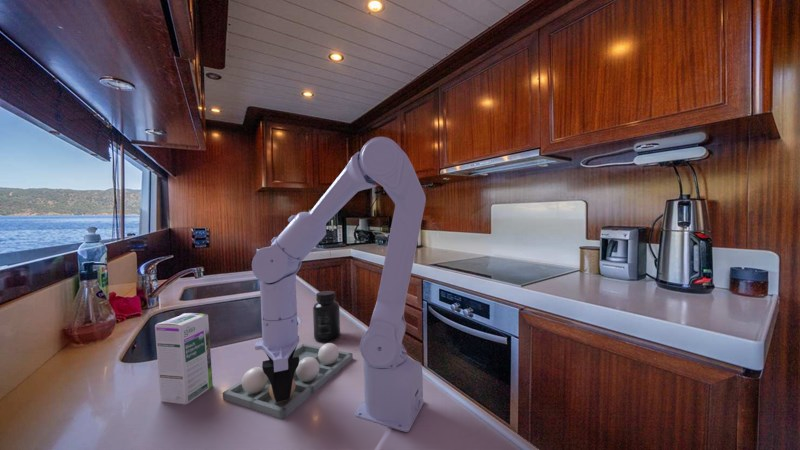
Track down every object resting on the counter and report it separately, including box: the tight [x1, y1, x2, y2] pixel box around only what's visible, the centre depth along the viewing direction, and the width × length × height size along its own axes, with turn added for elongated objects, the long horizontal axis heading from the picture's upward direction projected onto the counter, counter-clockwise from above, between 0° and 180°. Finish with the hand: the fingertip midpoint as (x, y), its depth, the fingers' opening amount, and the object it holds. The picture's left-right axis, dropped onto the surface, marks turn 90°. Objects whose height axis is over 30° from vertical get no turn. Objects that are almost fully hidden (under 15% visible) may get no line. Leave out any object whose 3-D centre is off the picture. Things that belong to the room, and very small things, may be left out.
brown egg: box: [269, 378, 296, 403], centre depth 52 cm, size 4×4×4 cm
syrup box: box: [154, 312, 214, 405], centre depth 54 cm, size 6×6×14 cm
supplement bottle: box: [312, 290, 341, 343], centre depth 78 cm, size 7×7×12 cm
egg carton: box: [222, 342, 354, 420], centre depth 59 cm, size 14×21×5 cm
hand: (282, 391), depth 52 cm, fingers closed on brown egg, 4 cm apart
